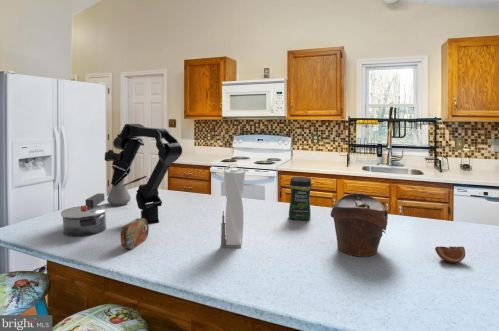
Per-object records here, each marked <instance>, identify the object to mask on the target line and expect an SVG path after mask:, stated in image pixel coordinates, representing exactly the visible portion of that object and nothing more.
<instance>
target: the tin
mask: <svg viewBox="0 0 499 331" xmlns="http://www.w3.org/2000/svg"><path fill="white" fill-rule="evenodd" d="M149 227H150V225H149V223H148V222H147V220H146V219H145V218H141V217H140V218H139V217H138V218H136V219H134V220H132V221H130V222H128V223H126V224H125V225H124V226H122V228H121V231H120V244H121V246H122V248H124V249H127V250H128V249H130V250H133V249H135V248H137V247H138V246H139V245H140V244H142V243H144V242H145V241H146V240H147V238H148V235H149V229H150V228H149Z"/></svg>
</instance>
